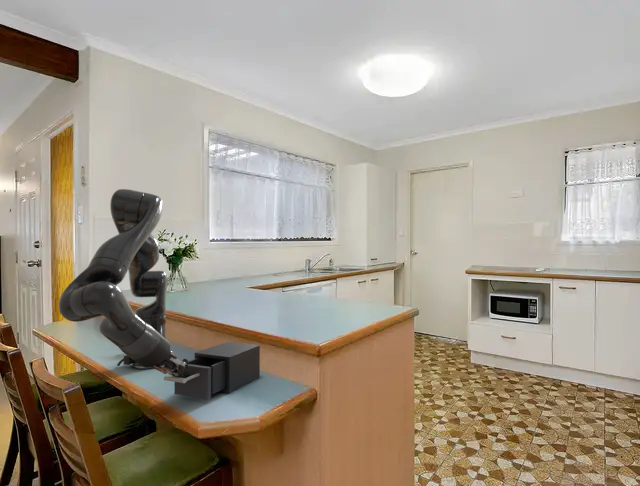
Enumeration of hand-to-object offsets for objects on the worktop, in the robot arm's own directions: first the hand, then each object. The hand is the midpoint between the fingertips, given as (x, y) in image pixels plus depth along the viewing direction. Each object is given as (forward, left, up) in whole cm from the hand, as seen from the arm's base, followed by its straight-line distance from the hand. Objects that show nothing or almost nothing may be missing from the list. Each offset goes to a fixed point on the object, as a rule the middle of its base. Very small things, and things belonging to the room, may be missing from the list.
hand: (185, 378), depth 97 cm
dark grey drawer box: (+3, +16, -7) cm, 17 cm away
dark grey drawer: (+1, +5, -6) cm, 8 cm away
